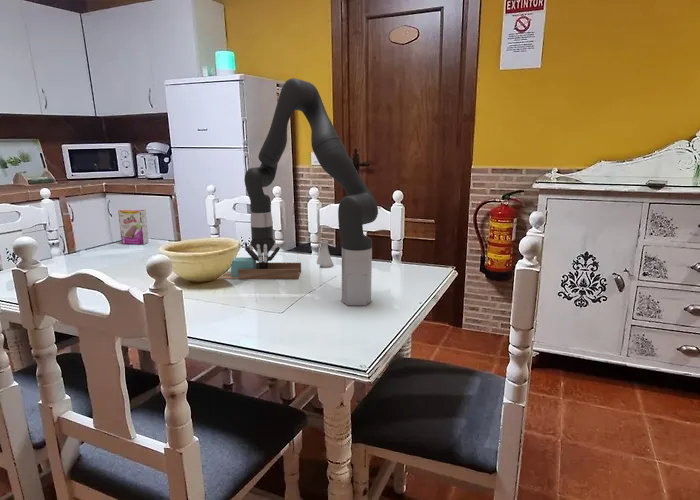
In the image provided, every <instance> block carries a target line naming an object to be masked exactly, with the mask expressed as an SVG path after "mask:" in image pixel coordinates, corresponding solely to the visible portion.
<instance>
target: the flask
mask: <svg viewBox="0 0 700 500" xmlns="http://www.w3.org/2000/svg"><path fill="white" fill-rule="evenodd" d="M319 242H320V250H319V253H318V256H317V260H316V262H315V263H316V264H317V265H319V268H332V267H333V266H334V263H333V259H332V257H331V254H330V251H329V247H328V245H329V241H328V240H325V239H324V240H320V241H319Z"/></svg>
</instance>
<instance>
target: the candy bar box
mask: <svg viewBox="0 0 700 500" xmlns="http://www.w3.org/2000/svg"><path fill="white" fill-rule="evenodd" d="M118 221H119V229H120V230H119V231H120V240H121V245H141V246H144V245H147V244H149V236H148V235H149V233H148V223H147V222H148V221H147V212H146V209H143V208H142V209H141V208H138V209H137V208H122V209H118Z"/></svg>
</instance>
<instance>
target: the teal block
mask: <svg viewBox="0 0 700 500" xmlns="http://www.w3.org/2000/svg"><path fill="white" fill-rule="evenodd" d="M256 263H257V261H255V260H254V259H253V258H252V257H251V256H250V257H246V256H245V257H242V256H241V257H240V256H239V257H236V258H235V260H233V261H232V264H231V263H230V272H231V277H239V274H238V269H256Z"/></svg>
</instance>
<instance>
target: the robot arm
mask: <svg viewBox="0 0 700 500" xmlns="http://www.w3.org/2000/svg"><path fill="white" fill-rule="evenodd" d="M276 103H277V104H276V106H275V110H274V113H273V117H272V120H271V124H270V127H269V130H268V133H267V135H266V137H265V139H264V142H263V144H262V146H261V147H260V151H259V153H258V160H259V162H260V166H257V167H251V168H248V169H247V170H246V172H245V175H244V180H243V181H244V186H245V188H246V189H245V190H246V192H247V196H248V198H249V201H250V232H251V241H250V244H249V245H247V246H246V247H245V248H244V251H245V252H246V253H247V254H248V255H249V256H250V257H252V258H253V259H254V260H255V261H256V262H257V263H259V265H260V269H268V263H269V262H270V261H272V260H273V259H274V257H276V255H277V254H278V252H279V251H280V250H281V248H282V247H281V245H278V244H276V241H275V240H274V231H273V230H274V229H273V223H274V222H273V216H272V215H273V214H272V202H271V197H270V196H269V195H268V194H265V192H264V189H263V188H267V187H269V186H270V185H271V184H273V182H274V180H275V178H276V174H277V170H278V165H279V162H280V160H281V159H282V158H281V157H282V156H283V154H284V152H285V149H286V146H287V142H288V124H289V122H290V121H289V120H290V119H291V117H292V115H293V113H294V112H295V111H301V112H302V114H303V115H304V116H305V119H306V120H307V122H308V123H309V126H310V129H311V130H310V131H311V132H310V134H311V137H310V138H311V139H310V142H311V149H312V152H313V153H314V155H315V158H316V160H317V162H318V164H319V165H320V167H321V168H322V170H324V172H326V173H327V175H329V176H330V177H331V179H333V180H335V182H337V183H338V184H339V185H340V186H341V187H342V188H343V190H344V191H345V193H346V196H344V197H342V198H341V200H339V201H340V202H339V205H338V209H337V212H338V213H337V218H338V219H337V220H338V235H339V239H340V241H341V302H342V303H343V304H345V305H346V306H368V304H370V303H371V302H372V273H373V272H372V271H373V270H372V269H373V266H372V265H373V263H372V262H373V258H372V257H373V239H372V238H371V236H368V235H365V234H364V228H363V226H364V225H368V224H371V223H373V222H375V221H376V219H377V217H378V215H379V208H378V204H377V201H376V199H375V197H374V196H373V193H372V192H371V191H370V190H369V188H368V186H367V185H366V184H365V181H363V179H362V177H361V176H360V174H359V171H357V168H356V167H355V165H354V163H353V161H352V159H351V158H350V156H349V154H348V152H347V149H346V147H345V146H344V144H343V142H342V140H341V138H340V136H339V134H338V133H337V131H336V129H335V126H334V124H333V122H332V121H331V119H330V117H329V115H328V113H327V110H326V107H325V105H324V103H323V100H322V97H321V95H320V92H319V91H318V89H317V87H316V86H315V85H314V84H313V83H311V82H309V81H306V80H302V79H299V78H292V77H291V78H289V79H288V80H286V81H285V82H284V83H283V85H282V87H281V89H280V93H279V95H278V99H277V102H276ZM272 248H273V249H272ZM253 249H254V250H255V251H254V250H253ZM271 250H273V252H272V253H271V254H270V256H269V252H270V251H271Z"/></svg>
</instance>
